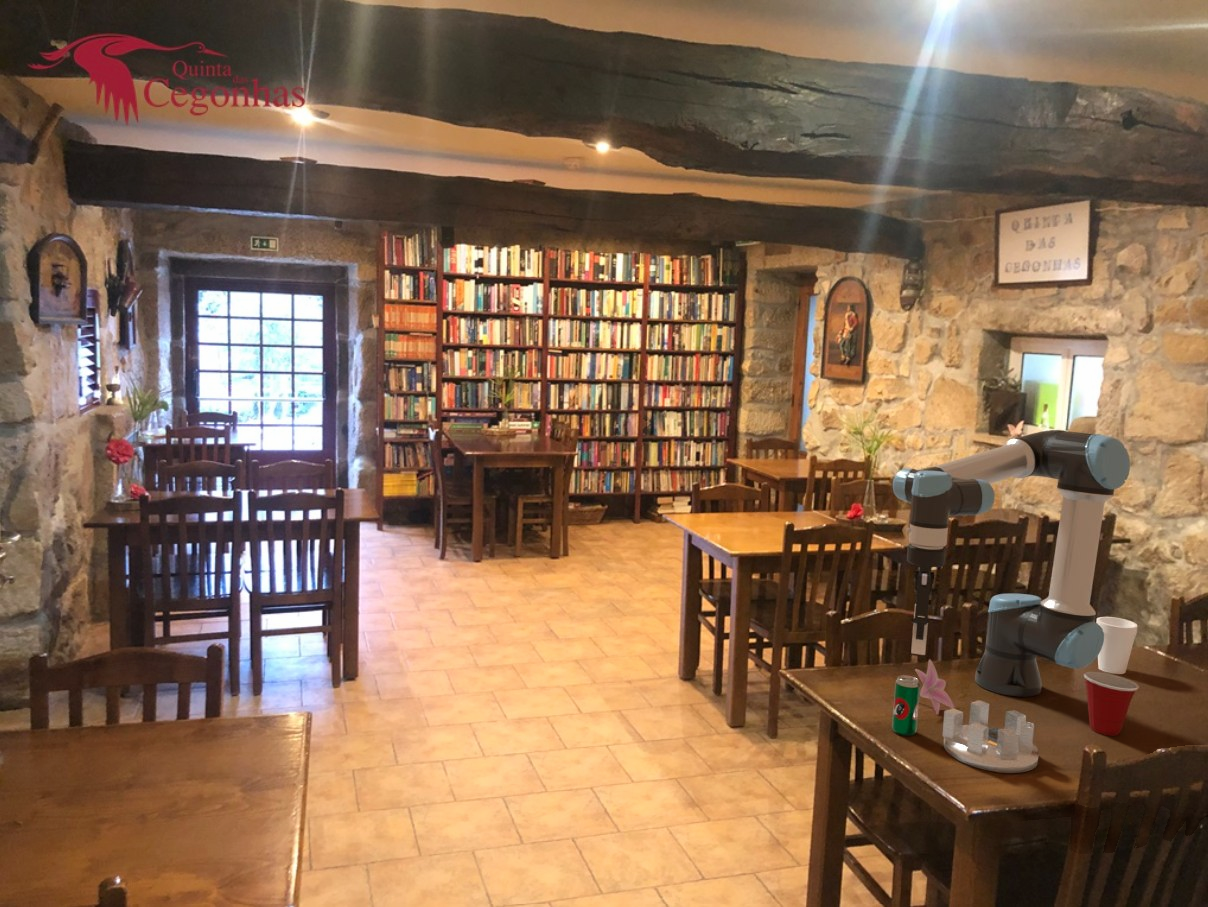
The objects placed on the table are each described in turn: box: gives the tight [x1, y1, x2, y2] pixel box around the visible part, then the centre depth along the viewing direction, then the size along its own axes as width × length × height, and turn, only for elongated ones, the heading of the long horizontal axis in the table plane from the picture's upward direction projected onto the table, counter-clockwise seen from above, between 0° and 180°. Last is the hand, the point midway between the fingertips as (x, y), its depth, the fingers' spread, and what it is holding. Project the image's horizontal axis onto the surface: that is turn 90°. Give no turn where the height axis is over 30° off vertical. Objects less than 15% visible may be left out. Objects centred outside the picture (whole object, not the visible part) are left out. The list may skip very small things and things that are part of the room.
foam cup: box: [1095, 616, 1138, 675], centre depth 241 cm, size 10×9×13 cm
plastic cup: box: [1083, 671, 1140, 737], centre depth 202 cm, size 11×11×12 cm
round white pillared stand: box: [942, 699, 1039, 774], centre depth 188 cm, size 18×18×8 cm
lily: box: [914, 659, 955, 715], centre depth 212 cm, size 12×12×10 cm
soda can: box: [891, 674, 921, 737], centre depth 197 cm, size 5×5×12 cm
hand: (918, 643), depth 193 cm, fingers open, 13 cm apart
